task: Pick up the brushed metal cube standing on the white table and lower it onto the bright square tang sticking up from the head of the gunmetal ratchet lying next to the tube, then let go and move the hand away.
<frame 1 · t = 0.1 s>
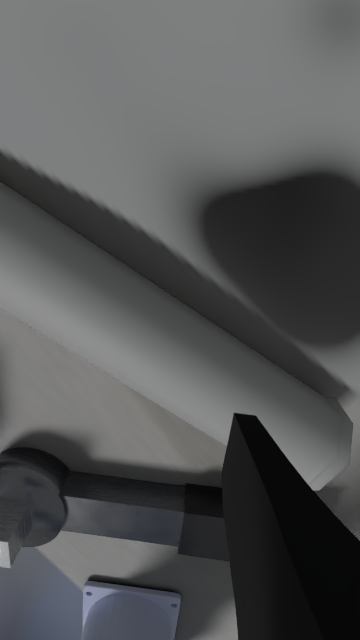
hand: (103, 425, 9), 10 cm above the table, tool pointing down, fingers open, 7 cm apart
tube: (135, 309, 19), on the table
ratchet: (32, 483, 24), on the table
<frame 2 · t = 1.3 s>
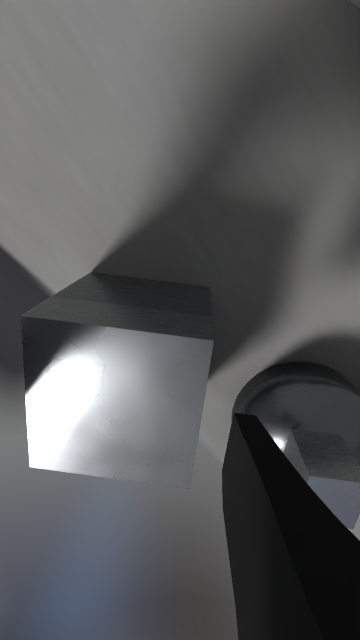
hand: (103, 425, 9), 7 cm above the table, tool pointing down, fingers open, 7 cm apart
brushed metal cube: (144, 335, 16), on the table
ratchet: (294, 418, 17), on the table
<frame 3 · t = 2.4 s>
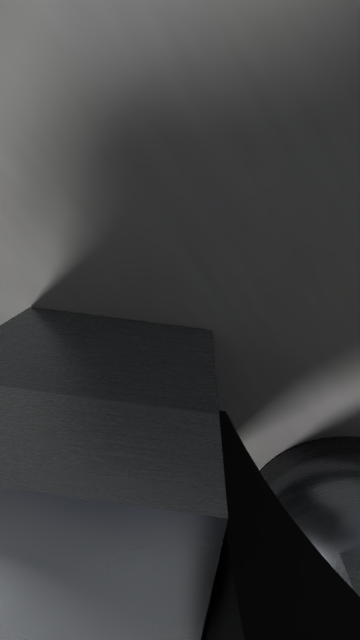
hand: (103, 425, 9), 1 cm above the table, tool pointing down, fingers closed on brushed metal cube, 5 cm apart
brushed metal cube: (116, 397, 10), on the table, touching gripper
ratchet: (334, 510, 12), on the table
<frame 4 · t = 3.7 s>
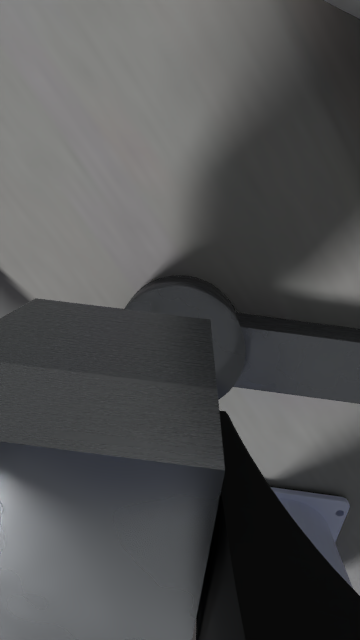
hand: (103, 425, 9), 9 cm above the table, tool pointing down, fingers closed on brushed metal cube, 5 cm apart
brushed metal cube: (118, 385, 11), point 7 cm above the table, touching gripper
ratchet: (179, 333, 18), on the table
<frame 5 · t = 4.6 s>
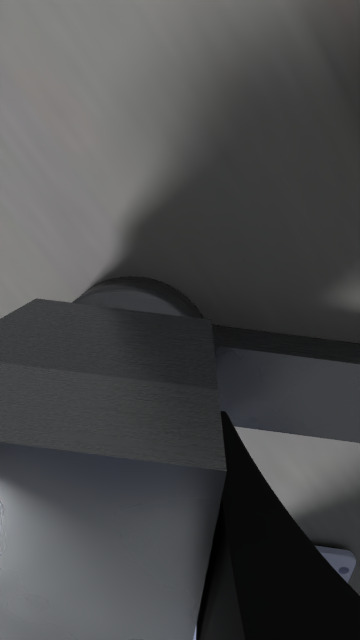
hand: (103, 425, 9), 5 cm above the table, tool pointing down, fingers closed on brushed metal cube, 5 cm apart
brushed metal cube: (119, 385, 11), point 3 cm above the table, touching gripper
ratchet: (136, 351, 14), on the table
when the fingers open (5 cm above the table, at t = 5.2 s): brushed metal cube stays where it is, resting on ratchet.
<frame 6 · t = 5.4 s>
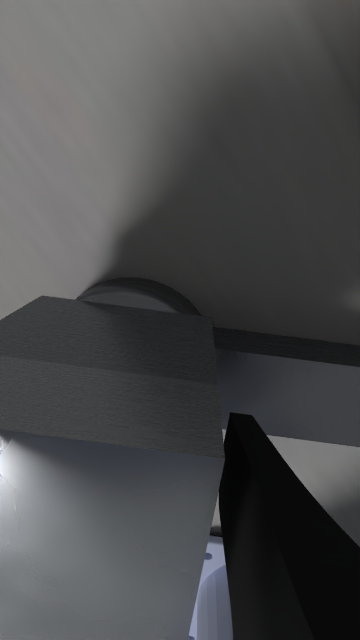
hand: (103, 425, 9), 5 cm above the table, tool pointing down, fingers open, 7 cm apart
brushed metal cube: (121, 380, 11), point 2 cm above the table, touching ratchet
ratchet: (134, 353, 13), on the table
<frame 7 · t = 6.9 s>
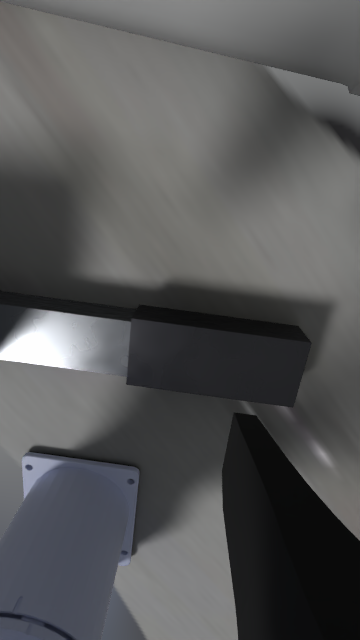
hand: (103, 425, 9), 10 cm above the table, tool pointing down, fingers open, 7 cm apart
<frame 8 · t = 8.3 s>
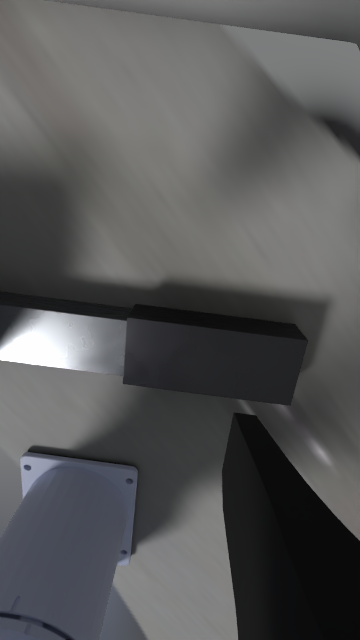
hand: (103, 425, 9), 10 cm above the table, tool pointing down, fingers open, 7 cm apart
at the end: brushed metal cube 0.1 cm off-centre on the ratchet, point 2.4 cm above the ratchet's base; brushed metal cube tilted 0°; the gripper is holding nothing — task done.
